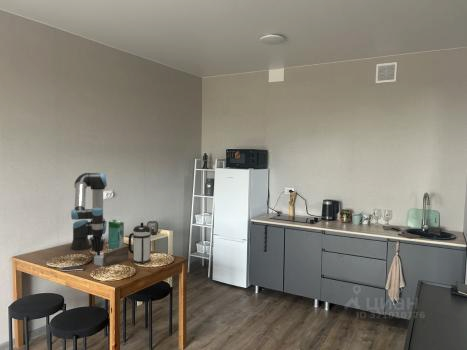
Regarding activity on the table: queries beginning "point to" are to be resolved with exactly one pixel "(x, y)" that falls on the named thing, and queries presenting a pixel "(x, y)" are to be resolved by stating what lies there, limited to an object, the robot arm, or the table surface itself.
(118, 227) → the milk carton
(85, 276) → the table surface
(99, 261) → the block
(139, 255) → the coffee press
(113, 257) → the board
